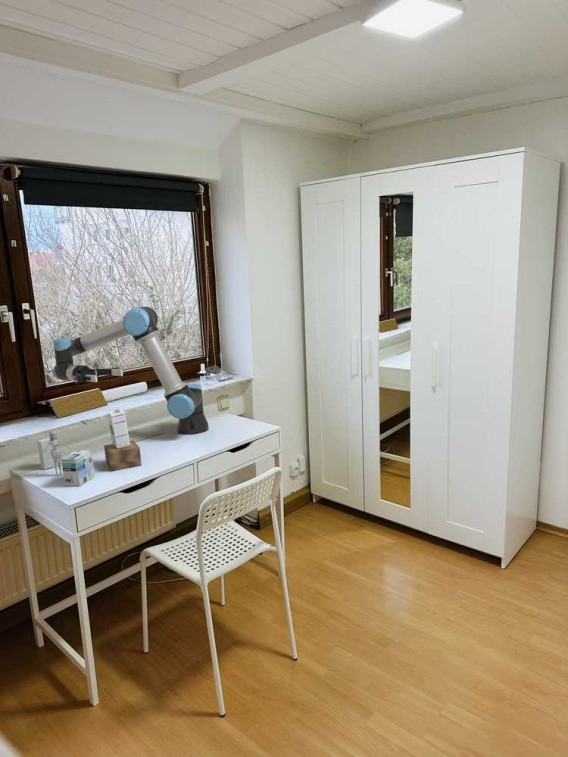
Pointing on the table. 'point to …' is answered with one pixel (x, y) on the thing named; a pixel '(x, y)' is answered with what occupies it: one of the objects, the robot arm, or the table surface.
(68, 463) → the light bulb box
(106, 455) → the walnut block
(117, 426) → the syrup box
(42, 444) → the skincare box
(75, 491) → the table surface
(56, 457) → the human figurine
